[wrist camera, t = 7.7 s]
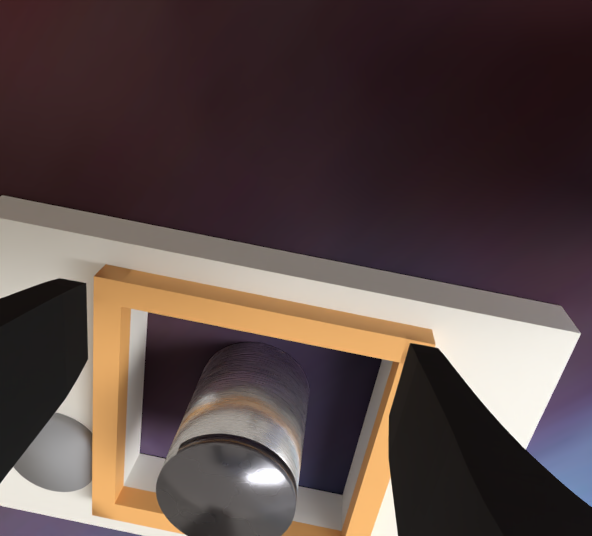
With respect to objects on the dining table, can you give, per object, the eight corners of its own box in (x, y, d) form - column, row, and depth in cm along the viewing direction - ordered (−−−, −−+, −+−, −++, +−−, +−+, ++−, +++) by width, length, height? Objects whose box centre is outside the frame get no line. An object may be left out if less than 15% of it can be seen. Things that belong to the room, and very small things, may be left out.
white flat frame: (560, 305, 21) (592, 349, 18) (447, 561, 27) (457, 621, 24) (2, 195, 21) (-50, 221, 18) (22, 473, 27) (-15, 523, 25)
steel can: (307, 342, 22) (291, 449, 17) (310, 432, 24) (298, 553, 19) (195, 341, 23) (145, 444, 17) (208, 428, 25) (166, 545, 19)
